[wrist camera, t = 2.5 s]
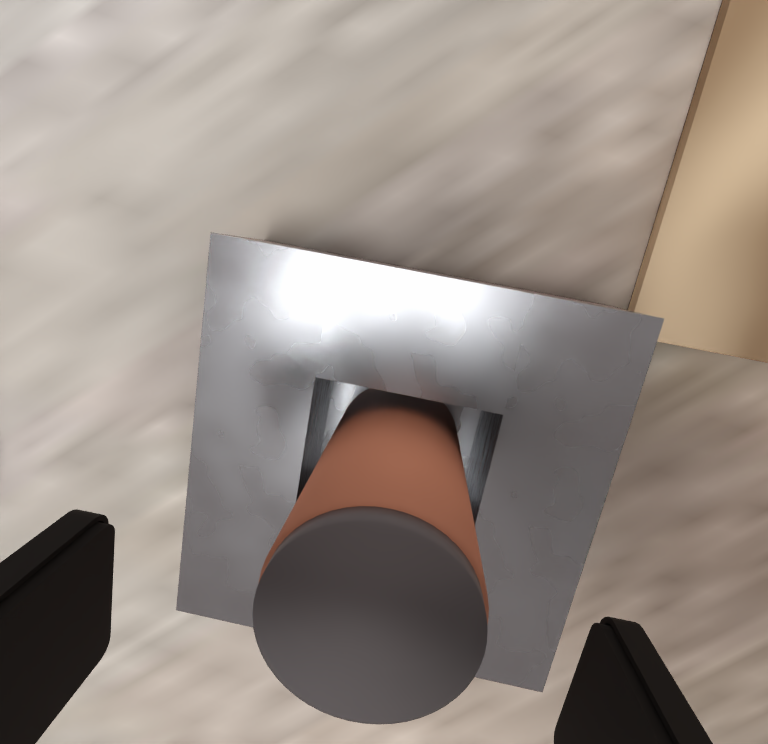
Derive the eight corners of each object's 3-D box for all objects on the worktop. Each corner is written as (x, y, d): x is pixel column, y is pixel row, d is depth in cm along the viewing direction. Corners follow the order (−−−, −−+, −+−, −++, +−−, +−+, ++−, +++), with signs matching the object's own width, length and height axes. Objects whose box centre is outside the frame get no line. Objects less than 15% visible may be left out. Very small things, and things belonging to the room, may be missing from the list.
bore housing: (603, 304, 19) (664, 318, 14) (516, 598, 22) (542, 692, 17) (264, 240, 19) (210, 232, 15) (229, 536, 23) (176, 610, 18)
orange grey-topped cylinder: (469, 395, 19) (520, 547, 9) (443, 504, 20) (462, 750, 10) (349, 371, 19) (263, 492, 9) (330, 480, 21) (235, 698, 10)
